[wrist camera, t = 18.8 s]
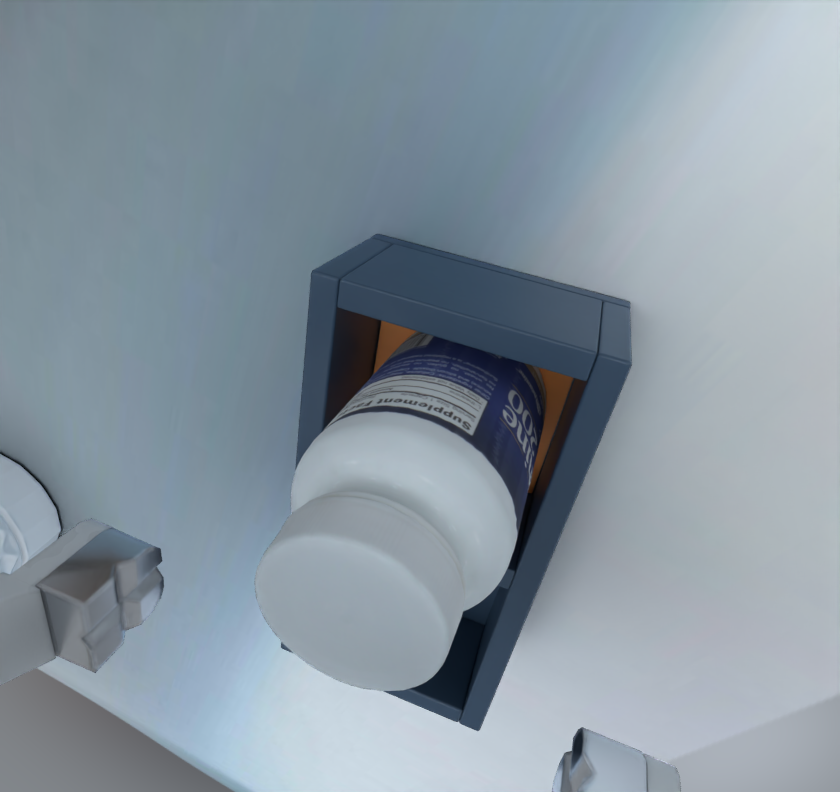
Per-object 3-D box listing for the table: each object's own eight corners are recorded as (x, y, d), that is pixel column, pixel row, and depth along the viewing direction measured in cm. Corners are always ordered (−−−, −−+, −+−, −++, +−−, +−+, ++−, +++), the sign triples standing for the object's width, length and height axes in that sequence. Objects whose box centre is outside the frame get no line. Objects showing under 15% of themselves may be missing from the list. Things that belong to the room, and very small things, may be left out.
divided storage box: (630, 301, 17) (633, 363, 13) (501, 632, 25) (479, 733, 21) (376, 233, 18) (310, 270, 14) (330, 566, 26) (279, 648, 22)
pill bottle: (536, 475, 20) (473, 751, 11) (389, 443, 21) (237, 670, 13) (562, 328, 17) (505, 549, 9) (392, 302, 18) (203, 473, 10)
